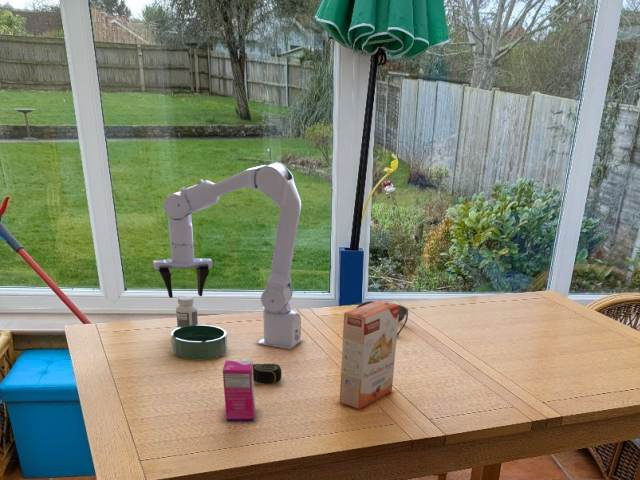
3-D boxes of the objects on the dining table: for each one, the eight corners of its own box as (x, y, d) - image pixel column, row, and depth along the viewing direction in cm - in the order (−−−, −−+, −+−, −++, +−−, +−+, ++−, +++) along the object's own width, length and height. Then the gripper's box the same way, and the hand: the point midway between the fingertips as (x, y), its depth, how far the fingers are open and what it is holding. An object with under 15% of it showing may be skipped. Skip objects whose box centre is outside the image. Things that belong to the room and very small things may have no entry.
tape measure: (280, 376, 174) (280, 361, 172) (282, 387, 168) (282, 372, 166) (251, 376, 172) (251, 361, 171) (252, 387, 167) (251, 372, 165)
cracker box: (361, 411, 159) (366, 317, 149) (338, 403, 162) (341, 311, 151) (394, 392, 170) (400, 303, 159) (372, 385, 172) (377, 298, 162)
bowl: (236, 348, 189) (235, 329, 186) (210, 364, 177) (209, 345, 175) (190, 340, 192) (189, 321, 189) (162, 356, 180) (160, 336, 178)
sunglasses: (411, 321, 218) (412, 305, 215) (399, 344, 204) (400, 328, 201) (358, 314, 220) (358, 299, 218) (343, 337, 207) (343, 320, 204)
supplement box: (227, 410, 155) (225, 359, 150) (255, 410, 156) (254, 360, 150) (224, 421, 150) (222, 369, 145) (253, 422, 151) (252, 370, 145)
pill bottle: (192, 329, 199) (190, 294, 195) (202, 335, 196) (199, 299, 191) (174, 332, 196) (171, 296, 192) (183, 338, 193) (180, 301, 188)
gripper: (206, 238, 190) (209, 290, 197) (149, 240, 185) (154, 293, 191) (213, 244, 185) (215, 297, 191) (154, 246, 179) (159, 300, 186)
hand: (185, 296), depth 191 cm, fingers open, 7 cm apart
